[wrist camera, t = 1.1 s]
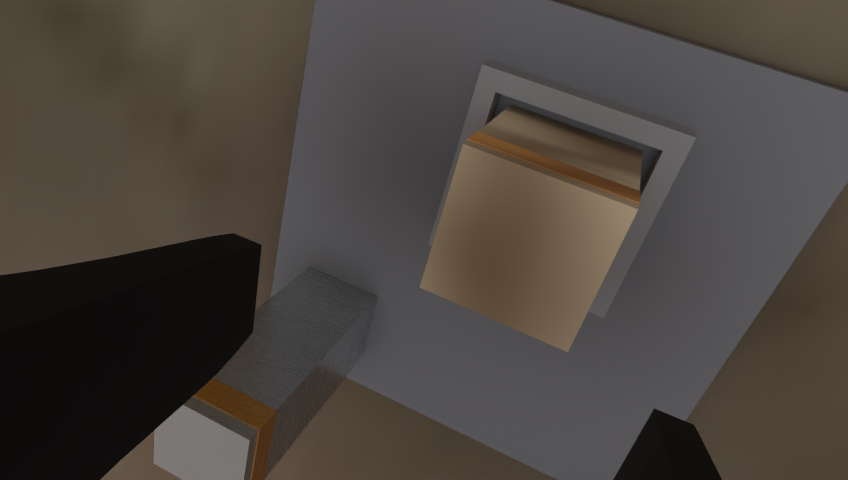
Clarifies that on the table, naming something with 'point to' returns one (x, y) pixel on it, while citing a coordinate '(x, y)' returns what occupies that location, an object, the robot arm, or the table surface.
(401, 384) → the base board
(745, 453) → the table surface
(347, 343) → the post
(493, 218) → the taped cardboard box
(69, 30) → the table surface
